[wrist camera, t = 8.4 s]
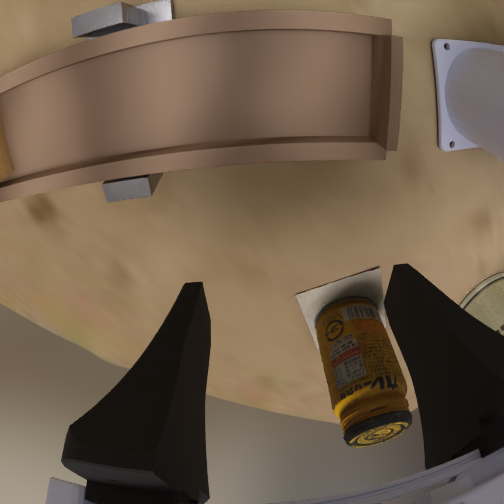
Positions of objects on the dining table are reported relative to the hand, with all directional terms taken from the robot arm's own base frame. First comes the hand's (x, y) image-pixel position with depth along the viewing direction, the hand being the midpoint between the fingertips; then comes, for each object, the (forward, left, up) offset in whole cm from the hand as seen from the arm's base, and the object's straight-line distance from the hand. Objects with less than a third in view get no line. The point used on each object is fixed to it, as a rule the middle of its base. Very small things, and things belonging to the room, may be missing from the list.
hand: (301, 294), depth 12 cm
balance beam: (+6, -8, -7) cm, 12 cm away
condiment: (-4, +14, -11) cm, 18 cm away
